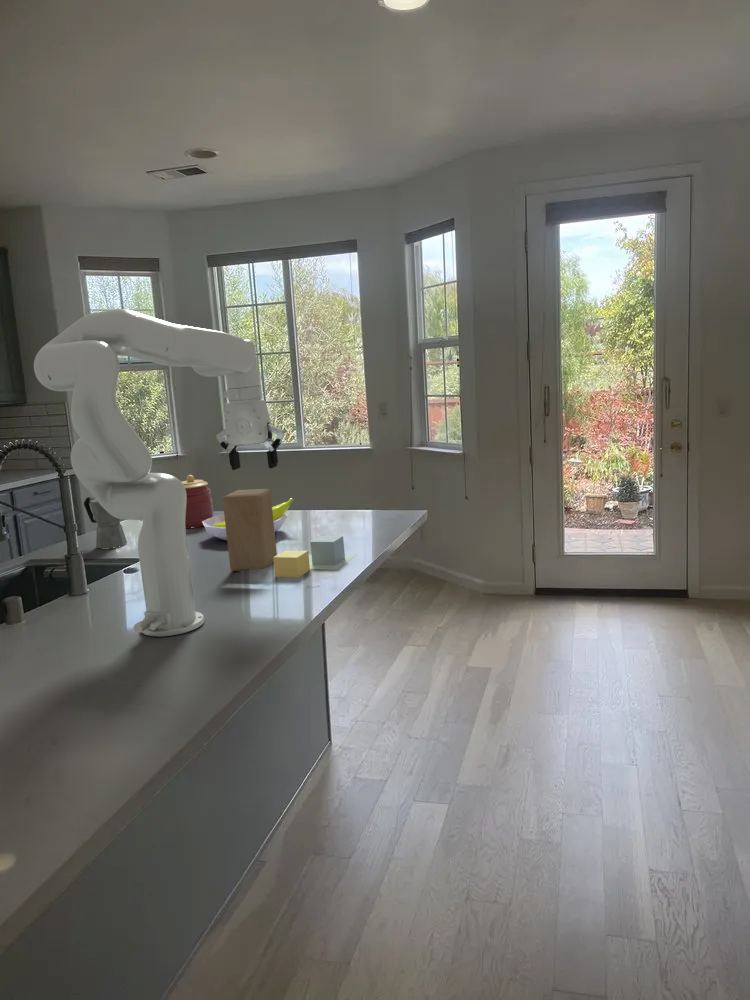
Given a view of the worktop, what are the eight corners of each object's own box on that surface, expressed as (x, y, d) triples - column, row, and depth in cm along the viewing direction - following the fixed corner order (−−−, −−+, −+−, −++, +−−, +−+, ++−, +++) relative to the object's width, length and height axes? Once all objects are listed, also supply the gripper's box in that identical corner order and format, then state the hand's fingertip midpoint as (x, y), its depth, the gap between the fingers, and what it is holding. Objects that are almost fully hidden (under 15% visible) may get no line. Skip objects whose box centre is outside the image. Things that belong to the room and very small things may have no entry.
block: (266, 572, 187) (258, 494, 184) (229, 572, 189) (220, 496, 186) (278, 561, 197) (271, 488, 193) (243, 562, 199) (235, 489, 195)
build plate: (336, 573, 181) (336, 569, 181) (285, 572, 185) (285, 568, 185) (356, 558, 194) (356, 554, 194) (308, 557, 198) (308, 554, 198)
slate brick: (335, 565, 185) (333, 541, 184) (312, 564, 187) (310, 541, 186) (344, 558, 191) (343, 535, 190) (322, 558, 193) (320, 535, 192)
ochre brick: (299, 581, 176) (297, 557, 175) (275, 581, 179) (273, 557, 178) (310, 574, 182) (308, 550, 181) (287, 573, 184) (284, 550, 183)
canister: (222, 522, 258) (217, 472, 255) (195, 530, 247) (189, 478, 244) (196, 520, 265) (190, 471, 262) (168, 528, 254) (162, 477, 251)
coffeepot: (138, 542, 234) (131, 487, 231) (117, 550, 225) (109, 492, 222) (101, 541, 240) (93, 487, 237) (79, 548, 232) (71, 492, 228)
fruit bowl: (187, 546, 223) (183, 510, 221) (231, 526, 248) (228, 493, 246) (270, 547, 214) (267, 509, 212) (308, 526, 239) (304, 492, 237)
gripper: (203, 399, 168) (214, 472, 172) (271, 394, 163) (281, 469, 166) (219, 395, 175) (229, 466, 179) (285, 390, 170) (294, 463, 173)
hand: (254, 468), depth 173 cm, fingers open, 9 cm apart
